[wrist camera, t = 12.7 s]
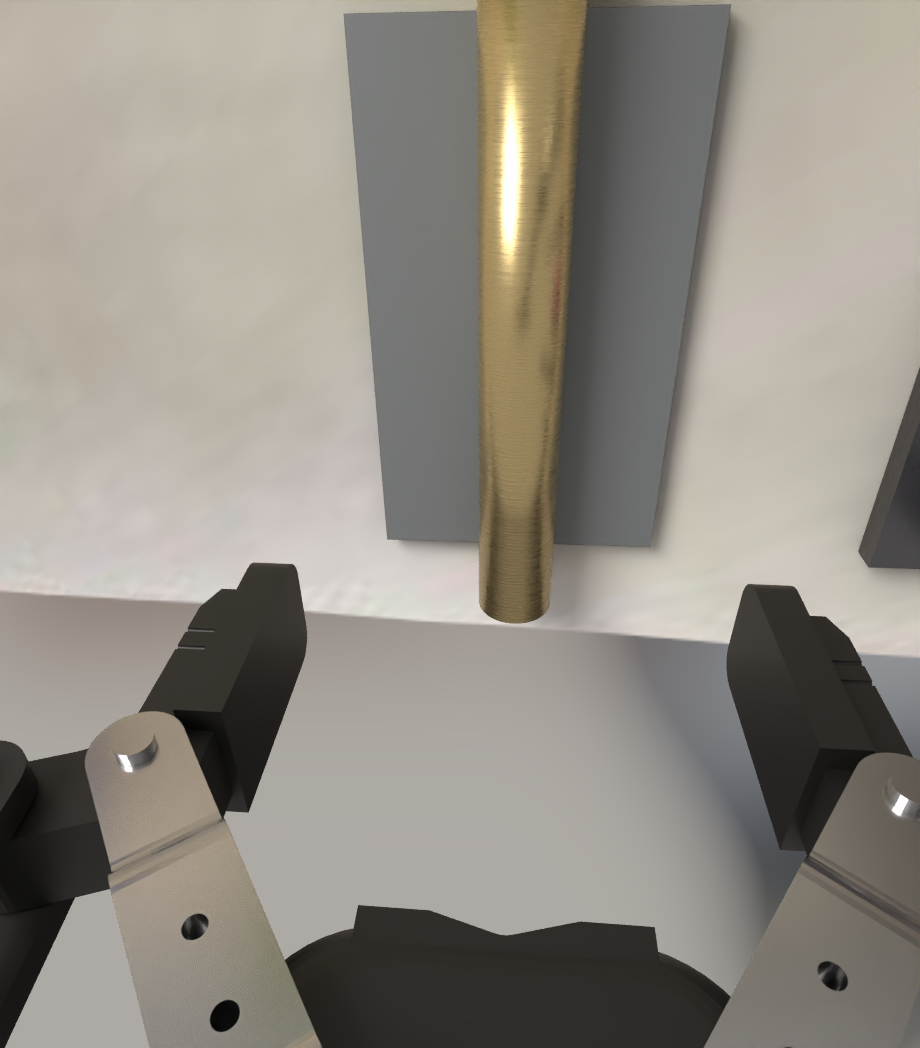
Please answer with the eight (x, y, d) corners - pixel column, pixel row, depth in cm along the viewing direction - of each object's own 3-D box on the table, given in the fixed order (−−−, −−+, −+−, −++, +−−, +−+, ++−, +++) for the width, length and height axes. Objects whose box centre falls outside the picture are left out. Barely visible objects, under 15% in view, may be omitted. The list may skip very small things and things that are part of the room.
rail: (484, -67, 22) (468, -85, 19) (592, -72, 22) (591, -91, 19) (483, 576, 35) (474, 620, 32) (551, 582, 34) (547, 626, 32)
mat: (348, 15, 24) (343, 13, 23) (725, 6, 23) (731, 4, 22) (390, 530, 35) (387, 539, 34) (647, 537, 34) (650, 546, 33)
